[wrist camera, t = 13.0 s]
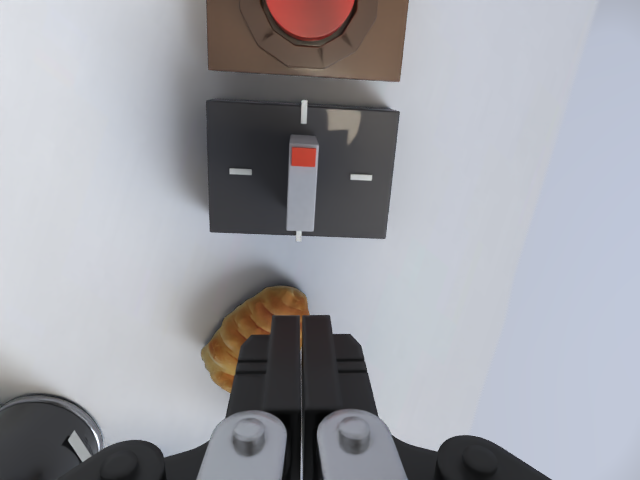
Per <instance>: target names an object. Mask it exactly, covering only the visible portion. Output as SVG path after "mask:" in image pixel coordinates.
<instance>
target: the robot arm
mask: <svg viewBox="0 0 640 480" xmlns="http://www.w3.org/2000/svg"><path fill="white" fill-rule="evenodd" d="M301 396H302V456H303V480H551V479H550V478H548V477H547V476H545V475H544V474H542V473H540V472H539V471H537V470H536V469H534V468H533V467H531V466H529V465H528V464H526V463H525V462H523V461H522V460H520V459H519V458H517V457H515V456H514V455H512V454H511V453H509V452H508V451H506V450H504V449H503V448H501V447H500V446H498V445H496V444H495V443H493V442H491V441H489V440H486V439H483V438H480V437H476V436H469V435H461V436H455V437H452V438H450V439H448V440H446V441H445V442H444V443H443V444H442V445H441V446H440V448H439V450H438V452H436V451H432V450H428V449H424V448H420V447H416V446H413V445H409V444H407V443H405V442H402V441H401V440H399V439H397V438H395V437H394V436H393V435H391V433H390V430H389V428H388V427H387V425H386V424H385V423H384V422H383V421H382V420H381V419H380V418H379V417H378V413H377V409H376V405H375V401H374V397H373V392H372V388H371V384H370V380H369V376H368V373H367V368H366V364H365V362H364V356H363V352H362V348H361V345H360V344H359V343H358V342H357V341H356V340H355V339H354V338H353V337H352V336H351V334H332V327H331V320H330V315H302V361H301V358H300V315H272V322H271V332H270V335H251V336H250V337H249V338H248V339H247V340H246V341H245V342H244V343H243V344H242V345H241V347H240V351H239V356H238V363H237V366H236V370H235V375H234V380H233V385H232V389H231V394H230V399H229V404H228V408H227V413H226V418H225V419H224V420H223V421H221V422H220V423H219V424H218V425H217V426H216V428H215V429H214V431H213V433H212V435H211V438H210V440H209V441H208V442H206V443H205V444H203V445H201V446H199V447H197V448H195V449H192V450H189V451H186V452H183V453H179V454H175V455H172V456H168V457H165V458H164V457H163V454H162V452H161V450H160V449H159V448H158V447H157V446H156V445H154V444H152V443H150V442H147V441H142V440H129V441H123V442H119V443H116V444H113V445H110V446H108V447H106V448H104V449H103V440H102V436H101V433H100V430H99V428H98V426H97V425H96V423H95V422H94V420H93V419H92V418H91V417H90V416H89V415H88V414H87V413H86V412H85V411H83V410H82V409H81V408H79V407H77V406H76V405H74V404H72V403H70V402H68V401H65V400H63V399H59V398H56V397H51V396H44V395H31V396H24V397H19V398H16V399H13V400H11V401H9V402H7V403H6V404H4V405H3V406H1V407H0V480H300V465H301Z"/></svg>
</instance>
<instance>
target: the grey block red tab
mask: <svg viewBox="0 0 640 480" xmlns="http://www.w3.org/2000/svg"><path fill="white" fill-rule="evenodd" d="M318 153H319V145H318V142H317V139H316V136H309V135H291V136H290V143H289V167H288V192H287V218H286V230H287V231H309V232H313V231H314V218H315V201H316V185H317V169H318Z"/></svg>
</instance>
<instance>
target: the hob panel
mask: <svg viewBox="0 0 640 480" xmlns="http://www.w3.org/2000/svg"><path fill="white" fill-rule="evenodd" d="M307 102H308V100H302V104H297V103H280V102H262V101H245V100H227V99H212V100H207V101H206V116H207V151H208V185H209V220H210V232H218V233H244V234H271V235H296V241H297V242H301V236H323V237H350V238H376V239H385V238H386V230H387V221H388V212H389V203H390V194H391V185H392V177H393V168H394V159H395V150H396V141H397V132H398V123H399V115H400V112H399V111H396V110H392V109H385V108H367V107H350V106H332V105H315V104H307ZM291 135H309V136H316V139H317V142H318V145H319V153H318V169H317V185H316V201H315V218H314V231H313V232H309V231H287V230H286V218H287V192H288V167H289V143H290V136H291Z"/></svg>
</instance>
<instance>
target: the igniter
mask: <svg viewBox="0 0 640 480" xmlns="http://www.w3.org/2000/svg"><path fill="white" fill-rule="evenodd" d="M408 3H409V0H355V1H354V4H353V7H352V10H351V12H350V14H349V15H348V17H347V18H346V20H345V21H344V23H343V24H342V25H341V26H340V28H339V29H338V30H337V31H335V32H334V33H333V34H332V35H330V36H328V37H326V38H324V39H321V40H318V41H302V40H298V39H295V38H293V37H291V36H289V35H288V34H286V33H285V32H284V31H283V30H282V29H281V28H280V27H279V26H278V25H277V24H276V22H275V21H274V19H273V17H272V16H271V13H270V11H269V8H268V6H267V3H266V0H206V4H207V41H208V70H212V71H224V72H241V73H257V74H273V75H290V76H306V77H323V78H339V79H355V80H372V81H388V82H399V81H400V75H401V66H402V57H403V48H404V39H405V30H406V21H407V12H408Z"/></svg>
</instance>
